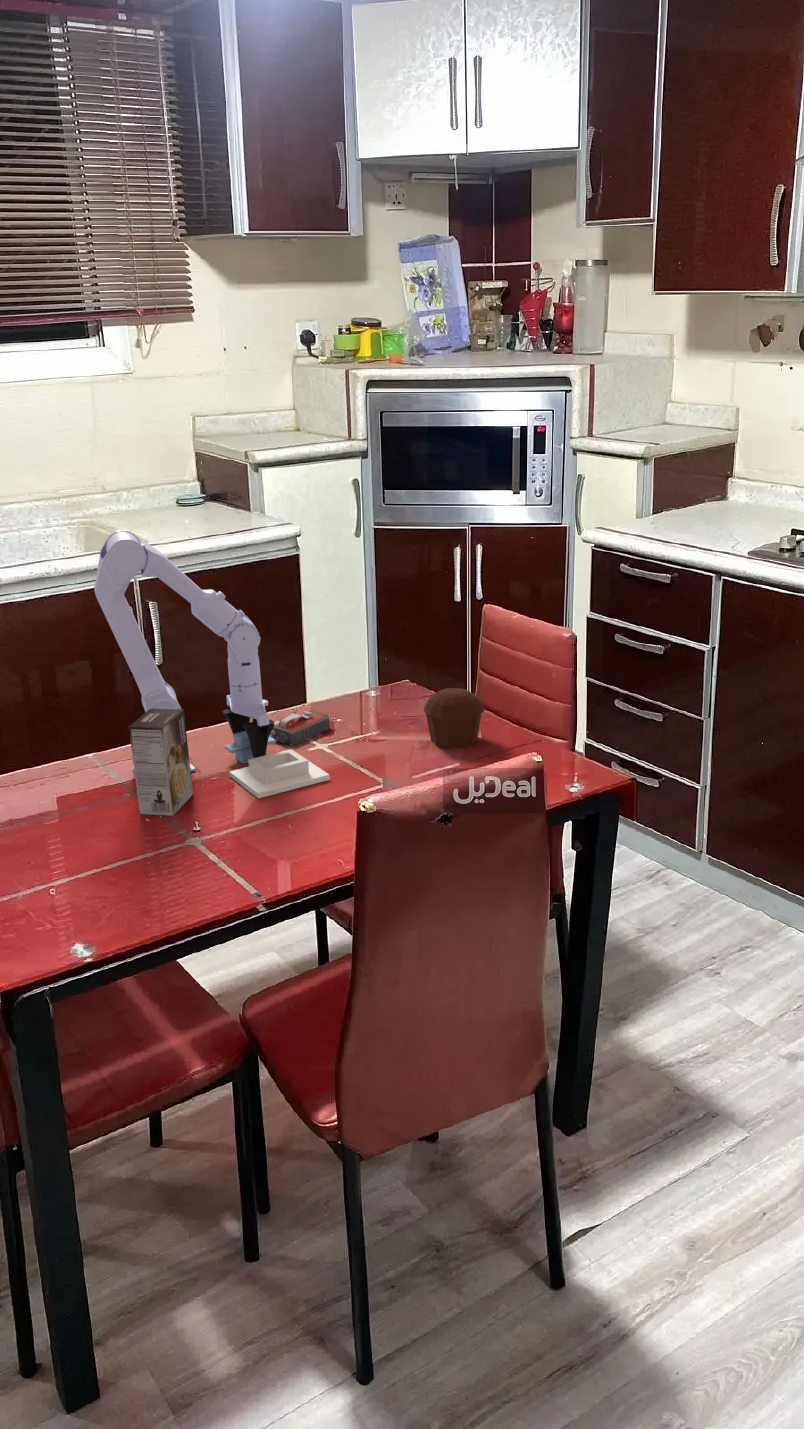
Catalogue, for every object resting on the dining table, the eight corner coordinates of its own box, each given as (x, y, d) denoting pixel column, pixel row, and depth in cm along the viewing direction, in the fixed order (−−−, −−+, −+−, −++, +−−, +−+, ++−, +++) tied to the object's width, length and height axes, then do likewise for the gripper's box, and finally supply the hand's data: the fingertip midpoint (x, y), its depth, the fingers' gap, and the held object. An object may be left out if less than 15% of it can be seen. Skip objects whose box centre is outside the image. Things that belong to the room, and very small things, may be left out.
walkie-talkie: (304, 719, 238) (232, 749, 224) (303, 699, 237) (230, 728, 222) (336, 728, 233) (264, 759, 218) (335, 707, 231) (263, 737, 217)
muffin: (417, 747, 220) (415, 698, 217) (432, 727, 230) (431, 680, 227) (477, 753, 217) (477, 702, 214) (491, 732, 227) (490, 684, 224)
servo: (232, 766, 215) (230, 737, 213) (225, 761, 217) (223, 732, 215) (276, 755, 219) (274, 726, 217) (269, 750, 222) (267, 722, 220)
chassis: (258, 798, 200) (256, 779, 199) (230, 776, 210) (228, 758, 209) (329, 779, 207) (328, 761, 206) (299, 759, 217) (297, 741, 216)
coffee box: (159, 793, 204) (150, 707, 199) (194, 794, 203) (185, 708, 197) (138, 814, 196) (127, 725, 190) (174, 817, 194) (164, 727, 189)
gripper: (282, 688, 209) (287, 757, 214) (248, 668, 221) (253, 735, 226) (246, 695, 206) (252, 766, 210) (214, 675, 218) (220, 743, 222)
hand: (250, 750), depth 218 cm, fingers open, 7 cm apart
